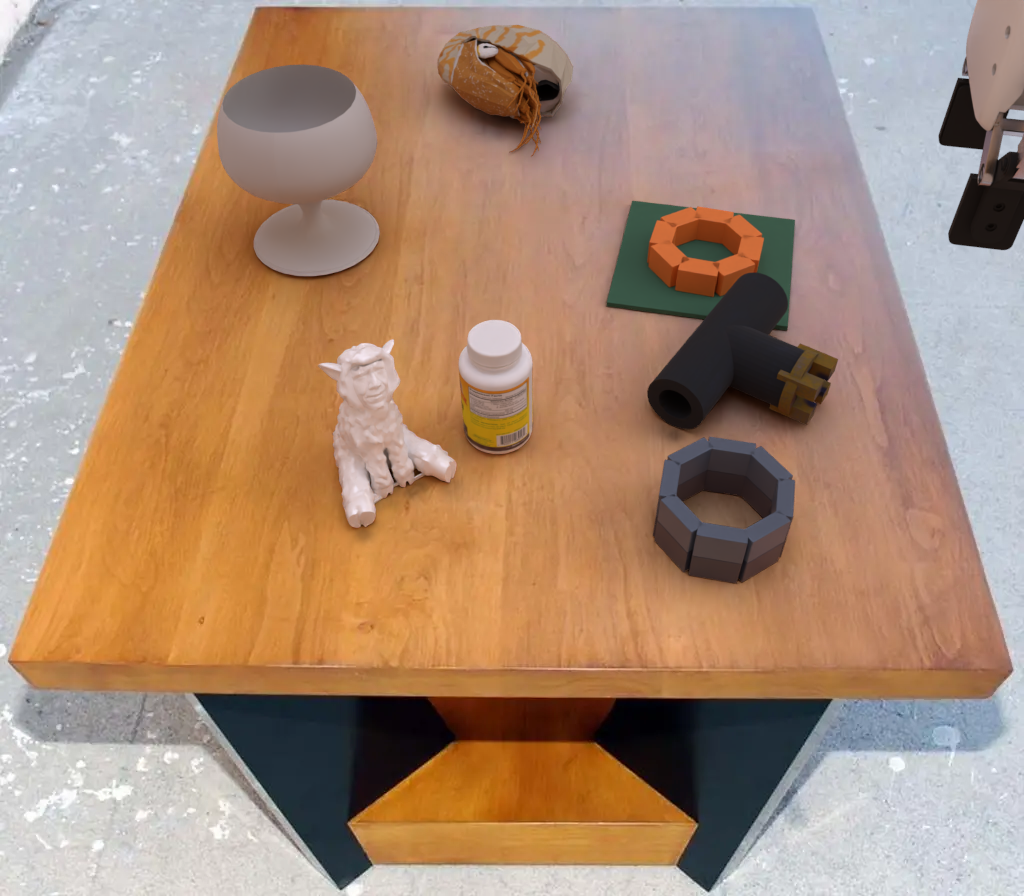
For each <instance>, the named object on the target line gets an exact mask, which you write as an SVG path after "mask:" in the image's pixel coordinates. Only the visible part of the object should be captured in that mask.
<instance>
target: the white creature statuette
mask: <svg viewBox="0 0 1024 896" xmlns="http://www.w3.org/2000/svg"><path fill="white" fill-rule="evenodd" d="M394 345H395V340H394V338H392V339H389V340H388V341H386V342H385V343H384V344H383V346H382V347H380V346H377V345H375V344H374V343H370V342H361V343H359V344H358V345H352V346H351V348H346V349H344V351H342V353H341V354H340V355H338V357H337V360H336V362H321V363H318V364H317V367H318V368H319V369H320V370H321V371H323V373H325V374H326V375H327V376H328V377H329V378H331V379H332V380H333V381H336V393H337V394H338V395H339V397H340V398H341V399H343V400H342V402H341V403H340V405H339V408H338V412H339V413H338V414H337V416H336V419H337V423H336V425H335V429H334V431H333V432H332V440H333V443H332V447H333V450H334V451H333V457H334V460H335V466H336V467H337V468H338V471H337V472H338V482H339V485H340V487H341V490H342V492H341V493H340V496H341V497H342V508H343V509H344V513H345V517H346V520H347V523H348V524H349V526H350V527H352V528H355V529H358V528H361V527H362V526H363V527H365V528H366V527H368V526H369V525H371V524H373V523H374V522H375V520H376V517H377V509H376V506H375V504H377V503H378V502H380V501H381V500H382V499H386V498H387V497H388V495H389V494H390V495H393V494H394V488H395V487H397V486H400V487H401V488H407V487H406V486H407V482H408V484H409V485H410V486H411V485H413V483H414V482H415V481H417V480H419V479H421V478H423V477H425V476H428V477H429V476H432V477H434V478H437V479H438V480H440V481H444V482H446V483H448V484H450V483H451V479H454V478H455V475H456V472H457V468H458V467H457V466H458V465H457V461H456V460H455V458H453V457H452V456H450V455H449V453H448V451H447V450H445V449H443V448H442V446H441V445H440V444H434V443H432V442H431V441H429V440H427V439H426V438H422V437H419V436H417V435H416V433H415V432H414V431H412V430H410V429H409V428H408V425H407V424H405V423H404V422H403V419H404V418H403V417H404V416H403V414H402V412H400V411H401V410H400V409H399V406H398V404H396V403H395V400H394V393H395V391H396V390H397V389H398V387H399V385H400V383H401V378H400V376H399V374H398V372H397V370H396V368H395V367H396V366H395V359H394V356H393V355H392V354H391V353H392V349H393V347H394ZM390 469H391V472H392V474H391V472H390ZM415 470H417V471H418V472H420V473H419V474H417V475H415ZM392 476H393V477H392ZM393 478H394V479H393ZM394 480H395V482H394Z"/></svg>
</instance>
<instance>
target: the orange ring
mask: <svg viewBox="0 0 1024 896" xmlns="http://www.w3.org/2000/svg"><path fill="white" fill-rule="evenodd" d="M688 207H689V208H686V209H683V210H680V211H678V212H675V213H672V214H669V215H666V216H663V217H661V220H660V221H658V220H657V221H656V224H655V227H654V230H653V233H652V236H651V239H650V242H649V250H648V259H647V263H649V268H650V269H651V270H652V271H653V272H654V273H655V274H656V275H657V276H658V277H659V278H660V279H661V280H662V281H663V282H664V283H665V284H666V285H667V286H668V287H673V286H675V285H676V287H675V290H676V291H682V292H688V293H693V294H699V295H704V296H710V297H714V293H715V292H716V293H717V294H718V295H719V296H723V295H725V294H726V293H727V292H728V290H729V289H730V288H731V287H732V286H733V284H734V283H735V282H736V281H737V280H738V279H739V278H740V277H741V276H742V275H744V274H747V273H754V272H755V273H757V269H758V265H759V260H760V256H761V251H762V246H763V241H764V238H762V233H761V232H759V231H758V230H757V229H756V228H755V227H754V226H752V225H751V224H750V223H749V222H748V221H747V220H745V219H744V218H743V217H742V216H741V215H737V216H734V217H733V215H734V213H735V211H730V210H723V209H717V208H711V207H705V206H699V205H698V206H697V207H696V208H697V209H696V211H695V210H694V209H693V208H694V207H692V206H688ZM695 239H696V240H702V241H708V242H714V243H720V244H723V245H724V246H725V247H726V248H727V249H728V250H729V251H731V252H732V253H733V254H734V255H733V256H730V257H728V258H725V259H722V260H719V261H717V262H712V261H706V260H700V259H694V258H689V257H687V256H686V255H684V254H683V253H682V252H681V251H680V250H679V249H678V248H677V247H676V246H679V245H682V244H684V243H687V242H690V241H693V240H695Z"/></svg>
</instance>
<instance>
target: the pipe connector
mask: <svg viewBox="0 0 1024 896" xmlns="http://www.w3.org/2000/svg"><path fill="white" fill-rule="evenodd" d="M787 308H788V299H787V296H786V293H785V291H784V290H783V288H782V287H781V286H780V284H779V283H777V282H776V281H775V280H774V279H772V278H771V277H769V276H767V275H765V274H761V273H755V272H754V273H747V274H744V275H742V276H741V277H740V278H739V279H738V280H737V281H736V282H735V283H734V284H733V286H732V287H731V288H730V289H729V290H728V292H727V293H726V294H725V295H724V296H723V298H722V299H721V300H720V301H719V302H718V304H717V305H716V306H715V307H714V308H713V310H712V311H711V312H710V313H709V314H708V316H707V317H706V318H705V319H702V321H701V323H700V324H699V325H698V326H697V327H696V329H695V330H694V331H693V332H692V334H690V335H689V337H688V338H687V339H686V340H685V342H684V343H683V344H682V345H681V347H679V349H678V350H677V351H676V352H675V354H674V355H673V356H672V357H671V359H670V360H669V361H668V362H667V363H666V364H665V366H664V367H663V368H662V369H661V370H660V372H659V373H658V374H657V375H656V377H654V378H653V380H652V381H651V383H650V384H649V385H648V387H647V391H646V397H647V402H648V403H649V406H650V408H651V409H652V410H653V412H654V413H655V414H656V416H658V417H659V418H660V419H661V420H662V421H664V422H665V423H666V424H668V425H670V426H671V427H675V428H677V429H680V430H693V429H696V428H698V427H699V426H700V425H701V424H702V422H703V421H704V420H705V419H706V417H707V416H708V415H709V414H710V412H711V411H712V410H713V409H714V407H715V406H716V405H717V403H718V402H719V400H720V399H721V398H722V397H723V395H724V394H725V393H726V392H727V390H728V389H729V388H732V389H735V390H736V391H739V392H742V393H744V394H746V395H748V396H750V397H753V398H755V399H757V400H759V401H761V402H765V403H766V404H768V405H769V410H771V411H773V412H776V413H778V414H780V415H783V416H785V417H787V418H790V419H791V420H794V421H796V422H798V423H801V424H803V425H805V426H807V425H808V424H809V422H810V421H811V419H812V418H813V416H814V415H815V412H816V409H817V405H822V403H823V402H824V400H825V399H826V397H827V396H828V394H829V391H830V388H831V384H832V383H831V382H830V381H829V380H830V379H831V378H832V376H833V374H834V373H835V372H836V368H837V365H838V361H839V358H837V357H834V356H832V355H829V354H827V353H824V352H822V351H819V350H818V349H815V348H812V347H810V346H807V345H805V344H803V343H799V344H798V345H797V346H796V345H793V344H791V343H790V342H786V341H784V340H782V339H779V338H777V337H775V336H772V335H770V334H771V332H772V331H773V330H775V329H774V327H775V326H776V325H777V323H778V322H779V321H780V319H781V318H782V317H783V315H784V314H785V313H786V311H787Z"/></svg>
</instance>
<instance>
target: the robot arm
mask: <svg viewBox="0 0 1024 896" xmlns="http://www.w3.org/2000/svg"><path fill="white" fill-rule="evenodd" d="M961 76H962V77H963V78H962V77H957V79H956V82H955V86H954V88H953V91H952V94H951V97H950V100H949V102H948V107H947V109H946V112H945V115H944V117H943V121H942V123H941V127H940V130H939V132H938V143H939V144H940V145H941V146H942V147H944V146H945V147H952V148H963V149H972V150H981V151H982V152H981V157H980V162H979V167H978V173H973V172H970V173H969V176H968V178H967V182H966V184H965V186H964V190H963V192H962V195H961V197H960V200H959V203H958V205H957V208H956V211H955V214H954V216H953V219H952V221H951V224H950V227H949V230H948V233H947V236H948V237H947V238H948V242H949V243H950V244H952V245H955V246H963V247H970V248H971V247H972V248H980V249H988V250H989V249H990V250H996V251H1008V250H1010V249H1011V248H1012V247H1013V245H1014V243H1015V241H1016V239H1017V237H1018V234H1019V232H1020V230H1021V228H1022V225H1023V223H1024V119H1016V118H1009V117H1008V116H1009V112H1010V110H1012V111H1023V112H1024V0H976V3H975V7H974V9H973V13H972V17H971V21H970V24H969V28H968V33H967V36H966V45H965V58H964V60H963V64H962V69H961ZM964 77H966V78H964ZM967 77H968V78H967ZM1004 136H1006V137H1007V136H1008V137H1017V138H1021V139H1020V142H1019V143H1018V144H1017V150H1016V151H1008V152H1006V153H1005V154H1004V155H1002V156H1001V157H1000V158H999V156H1000V151H1001V147H1002V142H1003V137H1004Z"/></svg>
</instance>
